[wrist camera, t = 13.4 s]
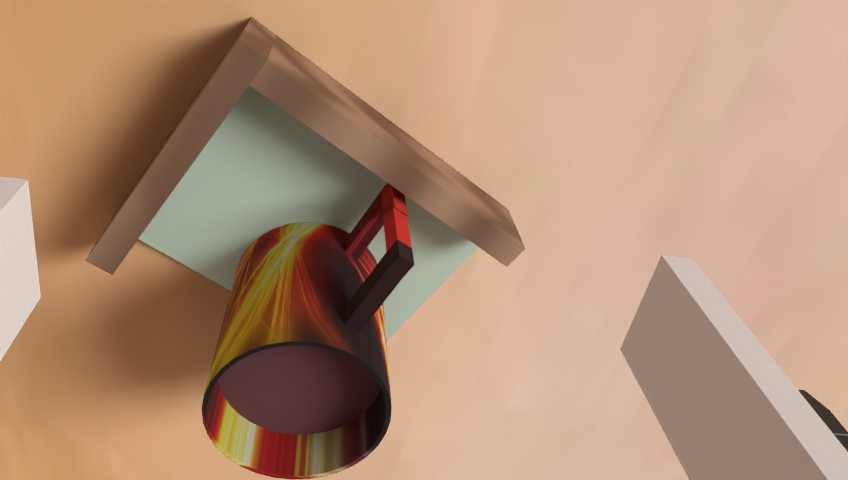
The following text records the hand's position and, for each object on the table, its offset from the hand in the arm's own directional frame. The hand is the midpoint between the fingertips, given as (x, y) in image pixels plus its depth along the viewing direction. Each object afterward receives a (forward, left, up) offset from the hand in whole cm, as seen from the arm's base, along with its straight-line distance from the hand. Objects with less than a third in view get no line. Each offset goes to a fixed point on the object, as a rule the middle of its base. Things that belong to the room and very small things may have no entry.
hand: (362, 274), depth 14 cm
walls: (+6, -12, -27) cm, 30 cm away
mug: (+7, -14, -26) cm, 31 cm away
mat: (+6, -12, -27) cm, 30 cm away
